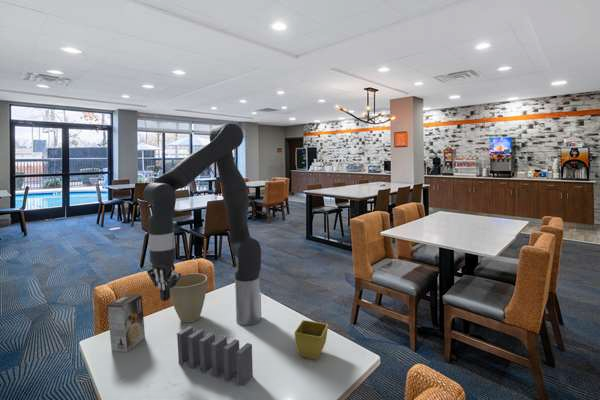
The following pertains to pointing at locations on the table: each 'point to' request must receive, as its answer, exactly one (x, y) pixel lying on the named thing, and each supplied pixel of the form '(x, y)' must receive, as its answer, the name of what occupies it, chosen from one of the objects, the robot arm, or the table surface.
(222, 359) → the domino
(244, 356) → the domino
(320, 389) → the table surface
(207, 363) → the domino
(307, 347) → the flower pot
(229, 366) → the domino
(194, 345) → the domino
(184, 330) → the domino
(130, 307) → the coffee box
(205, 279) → the plant pot
